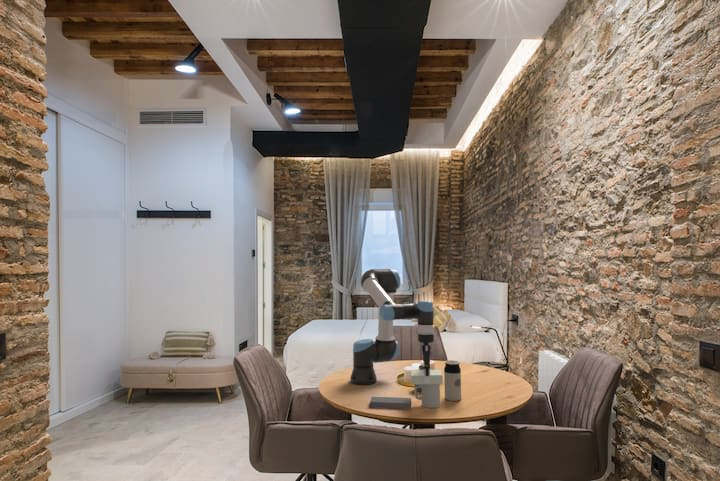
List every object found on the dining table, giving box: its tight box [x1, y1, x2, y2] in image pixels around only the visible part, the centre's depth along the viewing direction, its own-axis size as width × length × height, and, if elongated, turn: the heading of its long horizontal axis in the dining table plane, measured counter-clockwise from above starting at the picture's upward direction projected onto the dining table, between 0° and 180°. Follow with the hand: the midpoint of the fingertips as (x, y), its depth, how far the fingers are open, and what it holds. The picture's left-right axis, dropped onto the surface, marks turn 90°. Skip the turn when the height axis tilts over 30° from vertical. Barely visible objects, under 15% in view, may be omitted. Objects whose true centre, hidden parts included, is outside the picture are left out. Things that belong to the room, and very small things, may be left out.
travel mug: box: [443, 359, 462, 402], centre depth 201 cm, size 8×8×18 cm
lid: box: [410, 369, 444, 386], centre depth 192 cm, size 11×14×4 cm
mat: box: [369, 396, 412, 410], centre depth 192 cm, size 8×19×2 cm, turn 83°
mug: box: [413, 384, 441, 409], centre depth 192 cm, size 12×8×11 cm
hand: (426, 379), depth 192 cm, fingers open, 12 cm apart
